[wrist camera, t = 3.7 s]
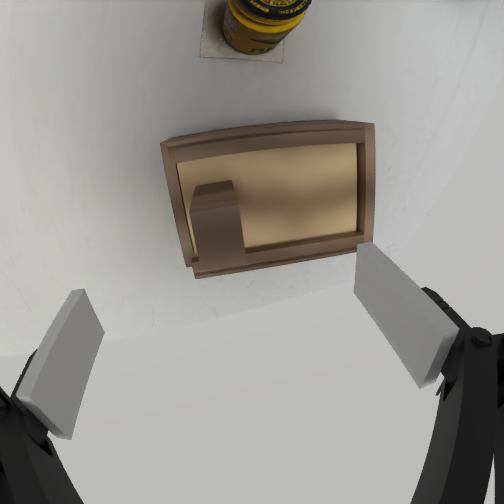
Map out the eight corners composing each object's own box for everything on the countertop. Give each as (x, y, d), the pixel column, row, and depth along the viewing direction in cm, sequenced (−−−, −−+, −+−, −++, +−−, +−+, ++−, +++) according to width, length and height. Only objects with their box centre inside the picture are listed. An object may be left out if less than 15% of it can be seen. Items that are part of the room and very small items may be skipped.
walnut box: (169, 138, 27) (154, 146, 20) (336, 119, 28) (374, 123, 21) (189, 242, 33) (184, 280, 26) (340, 219, 34) (372, 249, 27)
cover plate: (176, 150, 22) (159, 166, 15) (350, 131, 23) (401, 142, 16) (197, 258, 27) (193, 310, 20) (351, 233, 28) (391, 273, 21)
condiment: (282, 63, 25) (322, 35, 15) (199, 57, 24) (191, 21, 13) (286, 6, 22) (324, -41, 11) (206, -1, 21) (204, -57, 10)
